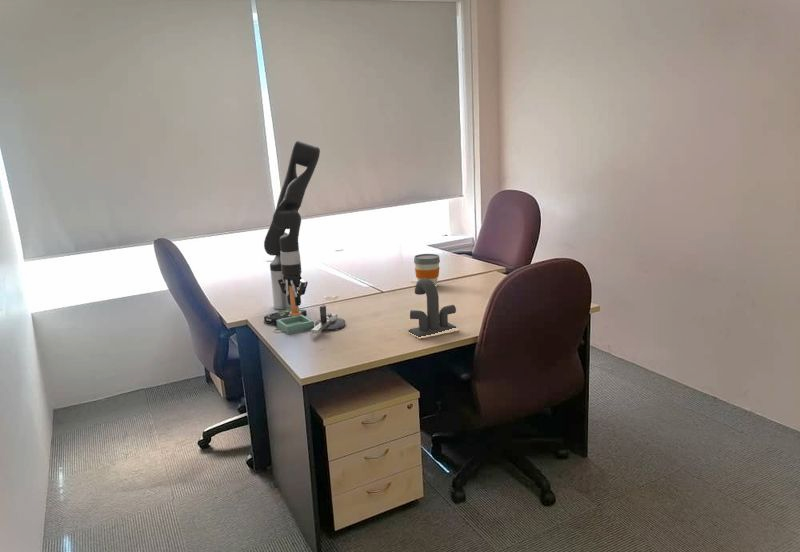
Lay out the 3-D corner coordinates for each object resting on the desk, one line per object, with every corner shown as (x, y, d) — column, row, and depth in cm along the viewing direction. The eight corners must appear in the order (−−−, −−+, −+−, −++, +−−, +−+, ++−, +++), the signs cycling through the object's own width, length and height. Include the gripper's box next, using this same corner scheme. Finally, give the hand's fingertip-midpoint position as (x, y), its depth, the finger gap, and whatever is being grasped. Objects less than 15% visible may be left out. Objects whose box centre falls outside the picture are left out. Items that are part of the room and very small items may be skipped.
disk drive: (282, 326, 232) (307, 316, 244) (281, 320, 231) (306, 309, 243) (264, 323, 238) (289, 313, 250) (263, 316, 237) (289, 307, 249)
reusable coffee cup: (445, 286, 284) (445, 256, 280) (426, 291, 276) (426, 260, 272) (428, 281, 293) (427, 252, 290) (409, 286, 285) (408, 256, 282)
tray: (277, 327, 232) (276, 320, 231) (302, 321, 238) (301, 314, 237) (287, 334, 223) (287, 327, 222) (313, 328, 229) (313, 321, 228)
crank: (329, 317, 236) (327, 298, 234) (340, 318, 235) (339, 298, 233) (308, 333, 217) (306, 313, 215) (320, 334, 216) (319, 313, 214)
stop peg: (288, 314, 230) (285, 285, 227) (298, 312, 232) (295, 283, 229) (292, 317, 226) (289, 287, 223) (302, 314, 229) (300, 285, 226)
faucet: (438, 319, 234) (437, 271, 229) (459, 330, 220) (459, 279, 215) (398, 328, 226) (396, 278, 221) (418, 339, 212) (416, 287, 207)
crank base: (310, 325, 233) (310, 321, 232) (337, 319, 239) (336, 315, 239) (323, 333, 223) (323, 329, 223) (350, 326, 229) (350, 323, 229)
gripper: (270, 262, 225) (274, 305, 229) (298, 265, 217) (302, 309, 222) (283, 258, 231) (287, 300, 235) (311, 261, 224) (314, 304, 228)
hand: (294, 304), depth 228 cm, fingers closed on stop peg, 3 cm apart
